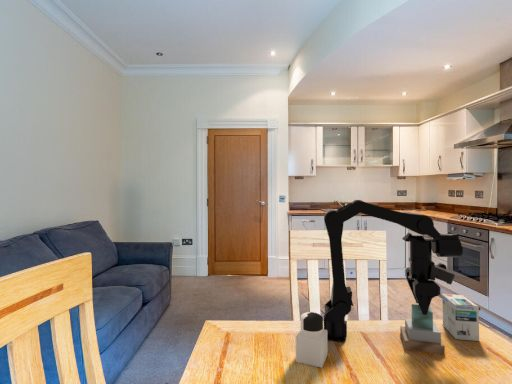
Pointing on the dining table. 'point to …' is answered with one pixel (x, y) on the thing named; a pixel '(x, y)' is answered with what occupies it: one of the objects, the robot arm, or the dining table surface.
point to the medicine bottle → (311, 340)
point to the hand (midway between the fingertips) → (421, 308)
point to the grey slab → (422, 333)
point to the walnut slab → (421, 344)
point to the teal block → (422, 318)
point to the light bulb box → (460, 317)
